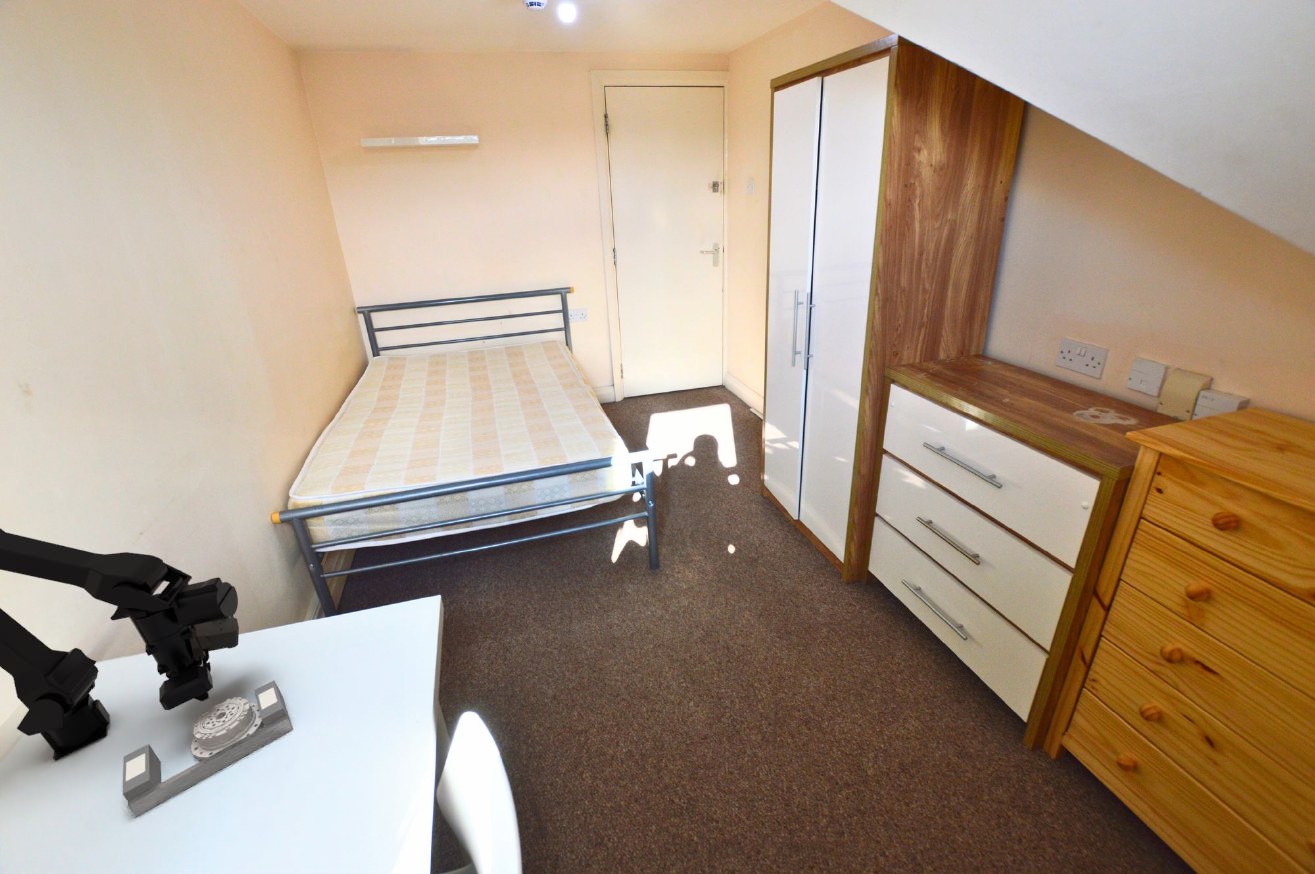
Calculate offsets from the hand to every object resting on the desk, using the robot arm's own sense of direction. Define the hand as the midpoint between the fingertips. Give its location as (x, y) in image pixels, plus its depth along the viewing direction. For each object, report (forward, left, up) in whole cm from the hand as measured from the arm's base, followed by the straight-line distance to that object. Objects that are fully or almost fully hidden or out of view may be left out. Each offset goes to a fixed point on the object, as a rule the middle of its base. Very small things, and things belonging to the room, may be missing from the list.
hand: (205, 698), depth 98 cm
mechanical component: (+2, -10, -2) cm, 11 cm away
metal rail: (0, -17, -1) cm, 17 cm away
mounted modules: (0, -12, -1) cm, 12 cm away
